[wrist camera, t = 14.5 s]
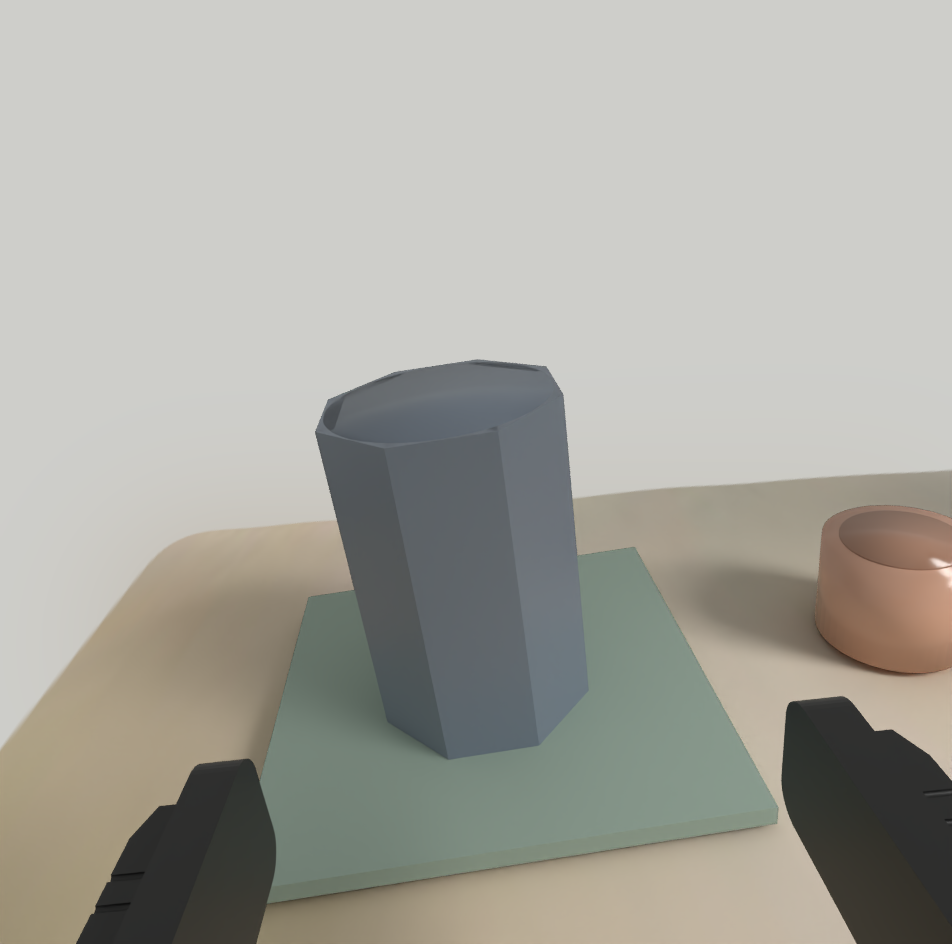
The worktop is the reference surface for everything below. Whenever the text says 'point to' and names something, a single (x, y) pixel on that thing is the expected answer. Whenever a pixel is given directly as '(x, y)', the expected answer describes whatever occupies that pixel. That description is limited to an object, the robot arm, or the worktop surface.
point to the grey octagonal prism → (462, 550)
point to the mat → (502, 756)
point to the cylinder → (887, 587)
